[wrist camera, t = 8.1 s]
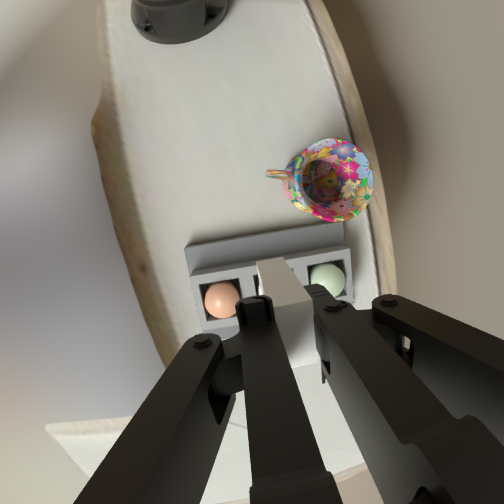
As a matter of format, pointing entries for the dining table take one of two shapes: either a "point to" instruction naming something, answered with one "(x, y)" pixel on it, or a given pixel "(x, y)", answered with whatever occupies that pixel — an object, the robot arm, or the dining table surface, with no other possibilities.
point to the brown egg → (222, 298)
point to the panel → (258, 249)
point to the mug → (328, 180)
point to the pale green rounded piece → (327, 277)
